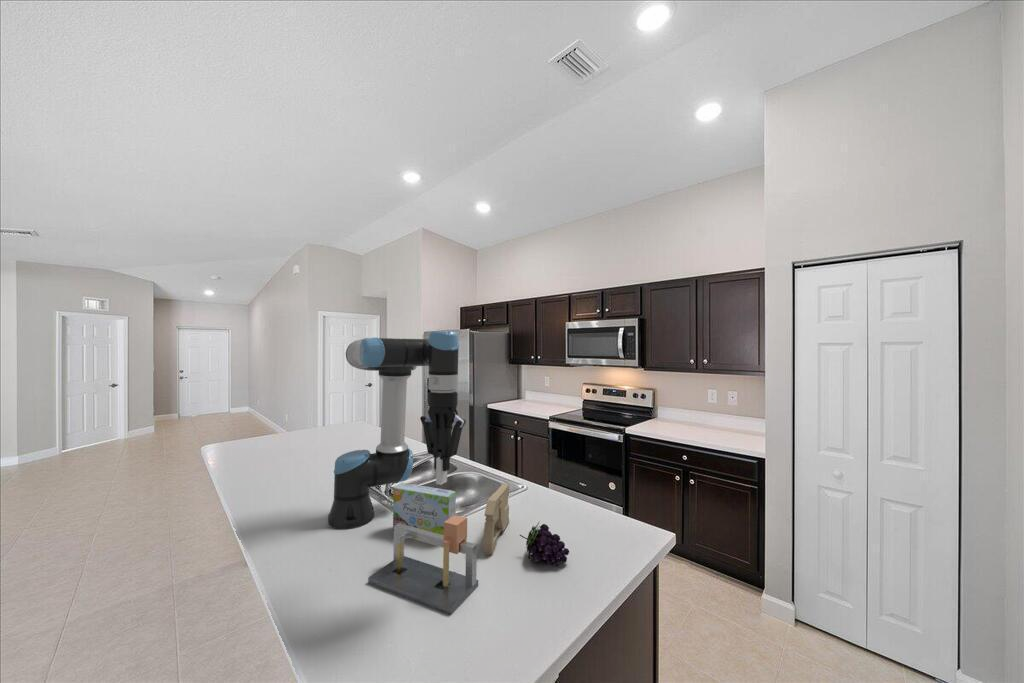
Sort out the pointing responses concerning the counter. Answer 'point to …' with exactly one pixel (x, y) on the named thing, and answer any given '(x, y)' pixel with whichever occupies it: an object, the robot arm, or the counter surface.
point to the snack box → (423, 507)
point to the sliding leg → (452, 541)
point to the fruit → (545, 546)
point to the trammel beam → (435, 539)
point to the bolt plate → (423, 584)
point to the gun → (495, 518)
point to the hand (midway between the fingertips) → (441, 482)
